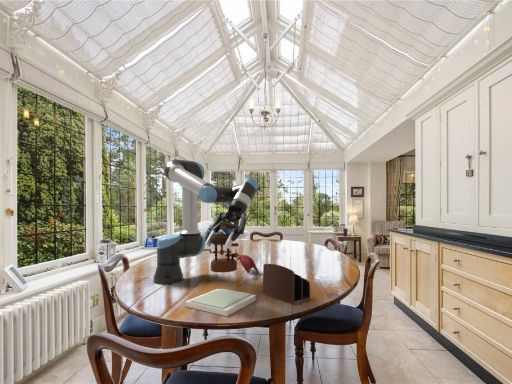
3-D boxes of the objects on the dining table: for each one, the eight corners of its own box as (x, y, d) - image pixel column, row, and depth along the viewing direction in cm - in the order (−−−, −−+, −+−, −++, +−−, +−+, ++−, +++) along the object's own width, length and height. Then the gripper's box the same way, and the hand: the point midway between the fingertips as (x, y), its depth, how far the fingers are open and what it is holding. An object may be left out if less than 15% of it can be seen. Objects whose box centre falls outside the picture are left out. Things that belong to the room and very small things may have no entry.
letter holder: (293, 305, 116) (292, 269, 117) (262, 293, 132) (262, 261, 133) (310, 300, 122) (310, 266, 123) (279, 289, 138) (278, 259, 139)
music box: (238, 265, 127) (238, 219, 126) (242, 273, 116) (242, 222, 115) (202, 267, 124) (202, 219, 123) (203, 275, 113) (202, 223, 112)
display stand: (185, 306, 116) (185, 300, 116) (217, 293, 133) (217, 287, 133) (226, 316, 105) (226, 309, 105) (255, 300, 122) (255, 294, 122)
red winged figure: (248, 274, 185) (232, 257, 184) (259, 264, 186) (242, 247, 185) (252, 287, 157) (233, 267, 156) (265, 275, 158) (246, 254, 157)
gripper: (263, 211, 128) (244, 253, 113) (223, 211, 139) (200, 249, 125) (257, 198, 123) (235, 241, 109) (216, 199, 135) (191, 238, 121)
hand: (217, 245), depth 117 cm, fingers open, 9 cm apart
